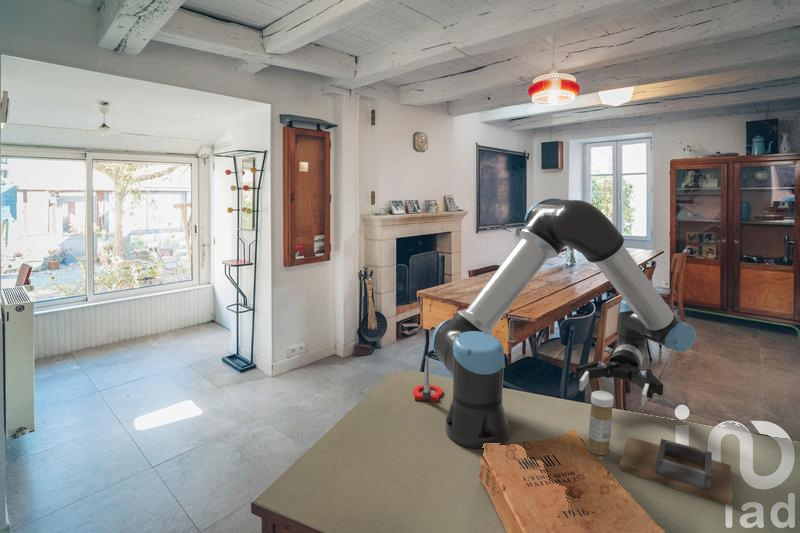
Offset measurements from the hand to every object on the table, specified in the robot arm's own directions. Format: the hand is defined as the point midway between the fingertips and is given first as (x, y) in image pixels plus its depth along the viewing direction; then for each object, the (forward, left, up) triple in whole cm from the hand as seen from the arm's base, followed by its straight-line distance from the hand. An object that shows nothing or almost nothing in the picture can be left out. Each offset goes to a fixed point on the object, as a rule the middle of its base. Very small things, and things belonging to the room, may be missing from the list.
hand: (610, 392), depth 106 cm
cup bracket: (+14, -9, -10) cm, 20 cm away
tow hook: (-46, -8, -10) cm, 48 cm away
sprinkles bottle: (0, -10, -10) cm, 14 cm away
